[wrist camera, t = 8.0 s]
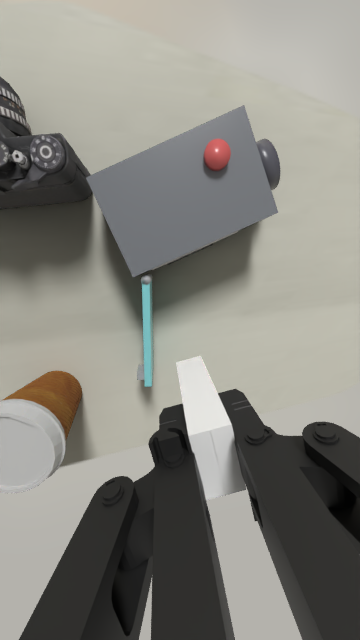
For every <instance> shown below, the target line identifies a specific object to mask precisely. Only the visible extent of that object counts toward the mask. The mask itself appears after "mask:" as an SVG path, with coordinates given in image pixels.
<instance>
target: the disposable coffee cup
mask: <svg viewBox="0 0 360 640" xmlns="http://www.w3.org/2000/svg"><path fill="white" fill-rule="evenodd" d="M81 397H82V388H81V386H80V384H79V382H78V380H77V379H76V378H75V377H74V376H72V375H70V374H69V373H66V372H63V371H51V372H48V373H46V374H44V375H43V376H41V377H39V378H38V379H36V380H34V381H33V382H31V383H29V384H28V385H26V386H24V387H23V388H21V389H20V390H18V391H16V392H15V393H13V394H11V395H10V396H8V397H6V398H5V399H3V400H2V401H0V492H2V493H18V492H24V491H27V490H30V489H32V488H34V487H36V486H38V485H39V484H40V483H42V482H43V481H44V480H45V479H47V478H48V477H50V476H51V475H52V474H53V473H54V472H55V471H56V470H57V469H58V468H59V466H60V464H61V463H62V461H63V458H64V455H65V450H66V439H67V436H68V433H69V431H70V428H71V425H72V422H73V420H74V417H75V414H76V411H77V408H78V405H79V403H80V400H81Z"/></svg>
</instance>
